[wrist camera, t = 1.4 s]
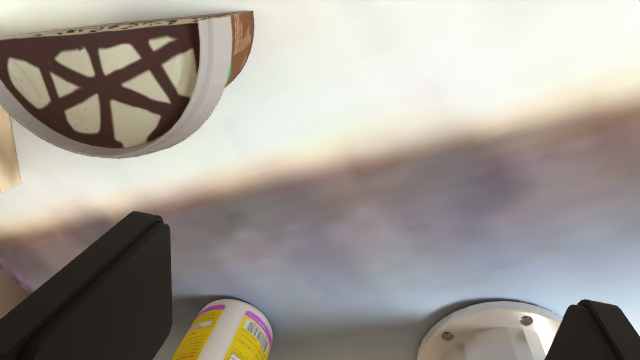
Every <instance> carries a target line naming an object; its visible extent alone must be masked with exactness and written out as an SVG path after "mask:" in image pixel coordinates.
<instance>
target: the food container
mask: <svg viewBox="0 0 640 360" xmlns="http://www.w3.org/2000/svg"><path fill="white" fill-rule="evenodd" d="M253 35H254V17H253V11H244V12H233V13H222V14H211V15H200V16H189V17H178V18H168V19H157V20H146V21H135V22H124V23H113V24H105V25H97V26H88V27H80V28H72V29H63V30H55V31H47V32H38V33H30V34H22V35H13V36H5V37H0V105H1V106H2V107H3V109H4V110H5V111H6V112H7V113H8V114H9V115H11V116H12V117H13V118H14V119H15V120H16V121H17V122H19V123H20V124H21V125H22V126H23V127H25V128H26V129H28V130H29V131H31V132H32V133H34V134H35V135H37V136H38V137H39V138H41V139H43V140H45V141H47V142H49V143H51V144H53V145H55V146H57V147H59V148H62V149H65V150H68V151H70V152H73V153H77V154H81V155H86V156H91V157H101V158H117V159H120V158H129V157H137V156H141V155H145V154H150V153H154V152H157V151H160V150H164V149H167V148H170V147H172V146H174V145H176V144H178V143H180V142H182V141H184V140H185V139H187V138H188V137H189V136H190V135H192V134H193V133H194V132H195V131H197V130H198V129H199V128H200V127H201V126H202V124H203V123H204V122H205V121H206V120H207V119H208V118H209V116H210V115H211V113H212V112H213V110H214V108H215V107H216V105H217V103H218V102H219V100H220V98H221V95H222V92H223V90H224V88H225V87H226V86H227V85H229V84H230V83H231V82H232V81H233V80H234V79H235V78H236V77H237V75H238V74H239V73H240V72H241V70H242V68H243V67H244V65H245V63H246V61H247V59H248V56H249V54H250V51H251V47H252V42H253Z"/></svg>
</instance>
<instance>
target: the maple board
mask: <svg viewBox="0 0 640 360" xmlns="http://www.w3.org/2000/svg"><path fill="white" fill-rule="evenodd" d="M19 183H21V178H20V172H19V167H18V161H17V156H16V150H15V145H14V139H13V134H12V128H11V123H10V117H9V114H8V113H7V112H6V111H5V110H4V109H3V107H2V106H1V105H0V193H2V192H4V191H6V190H8V189H9V188H11V187H13V186H15V185H17V184H19Z"/></svg>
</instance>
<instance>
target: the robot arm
mask: <svg viewBox="0 0 640 360" xmlns="http://www.w3.org/2000/svg"><path fill="white" fill-rule="evenodd" d="M171 326H172V287H171V246H170V227H169V225H167V224H164V222H163V219H162V217H160V216H158V215H153V214H148V213H142V212H137V211H133V212H131V213H130V214H128V215H127V216H126V217H125V218H123V219H122V220H121V221H120V222H119V223H117V224H116V225H115V226H114V227H112V228H111V229H110V230H109V231H108V232H106V233H105V234H104V235H103V236H101V237H100V238H99V239H98V240H97V241H95V242H94V243H93V244H92V245H91V246H89V247H88V248H87V249H86V250H84V251H83V252H82V253H81V254H80V255H78V256H77V257H76V258H75V259H73V260H72V261H71V262H70V263H69V264H67V265H66V266H65V267H64V268H62V269H61V270H60V271H59V272H58V273H56V274H55V275H54V276H53V277H51V278H50V279H49V280H48V281H47V282H45V283H44V284H43V285H42V286H41V287H39V288H38V289H37V290H36V291H34V292H33V293H32V294H31V295H30V296H28V297H27V298H26V299H25V300H23V301H22V302H21V303H20V304H19V305H17V306H16V307H15V308H14V309H13V310H11V311H10V312H9V313H8V314H7V315H5V316H4V317H3V318H1V319H0V360H152V359H153V358H154V356H155V355H156V353H157V352H158V350H159V349H160V348H161V346H162V345H163V343H164V342H165V340H166V339H167V337H168V335H169V333H170V330H171ZM417 360H640V336H639V335H638V333H637V332H636V331H635V329H634V328H633V326H632V325H631V323H630V322H629V320H628V319H627V318H626V316H625V315H624V313H623V312H622V310H621V309H620V308H619V307H618V306H615V305H611V304H606V303H601V302H596V301H591V300H586V299H584V300H581V301H580V302H579V303H578V304H577V305H570V306H569V307H568V309H567V310H566V312H565V315H564V317H563V318H562V317H560V316H559V315H557V314H556V313H553V312H551V311H549V310H546V309H544V308H541V307H539V306H534V305H530V304H526V303H521V302H509V301H497V302H485V303H480V304H476V305H471V306H468V307H465V308H463V309H460V310H457V311H455V312H453V313H451V314H449V315H448V316H446V317H444V318H443V319H441V320H440V321H439V322H438V323H437V324H435V325H434V326H433V327H432V328H431V329H430V330H429V332H428V333H427V334H426V336H425V337H424V338H423V340H422V342H421V345H420V347H419V349H418V354H417Z"/></svg>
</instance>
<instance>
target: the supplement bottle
mask: <svg viewBox="0 0 640 360" xmlns="http://www.w3.org/2000/svg"><path fill="white" fill-rule="evenodd" d="M272 342H273V334H272V329H271V326H270V324H269V322H268V320H267V319H266V317H265V316H264V315H263V314H262V313H261V312H260V311H259V310H258V309H256V308H255V307H253V306H252V305H250V304H248V303H245V302H242V301H239V300H234V299H221V300H217V301H214V302H211V303H209V304H208V305H206V306H205V307H204V308H203V309H202V310H201V311H200V313H199V314H198V316H197V317H196V319H195V320H194V322H193V324H192V325H191V327H190V329H189V330H188V332H187V334H186V335H185V337H184V339H183V340H182V342H181V344H180V345H179V347H178V349H177V350H176V352H175V354H174V355H173V357H172V359H171V360H267V359H268V356H269V353H270V350H271V347H272Z"/></svg>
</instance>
